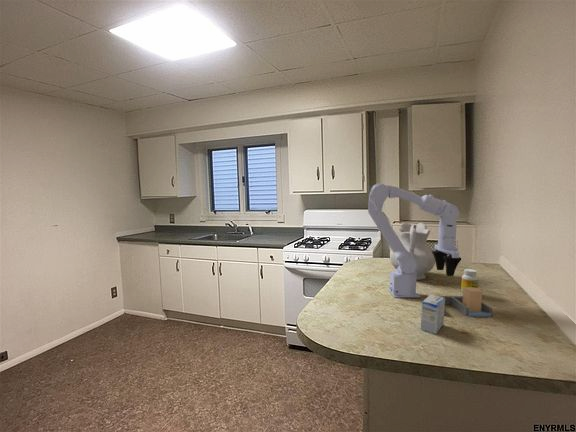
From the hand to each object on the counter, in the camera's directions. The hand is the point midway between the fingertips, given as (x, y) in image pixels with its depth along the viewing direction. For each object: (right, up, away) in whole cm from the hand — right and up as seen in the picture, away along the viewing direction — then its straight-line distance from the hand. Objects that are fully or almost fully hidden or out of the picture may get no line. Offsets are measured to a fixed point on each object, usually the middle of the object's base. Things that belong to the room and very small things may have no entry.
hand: (444, 272), depth 119 cm
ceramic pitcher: (-2, -7, +27) cm, 28 cm away
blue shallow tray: (0, -11, -11) cm, 15 cm away
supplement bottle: (+11, -9, +4) cm, 15 cm away
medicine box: (-15, -12, -24) cm, 31 cm away
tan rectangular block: (+3, -10, -11) cm, 15 cm away
